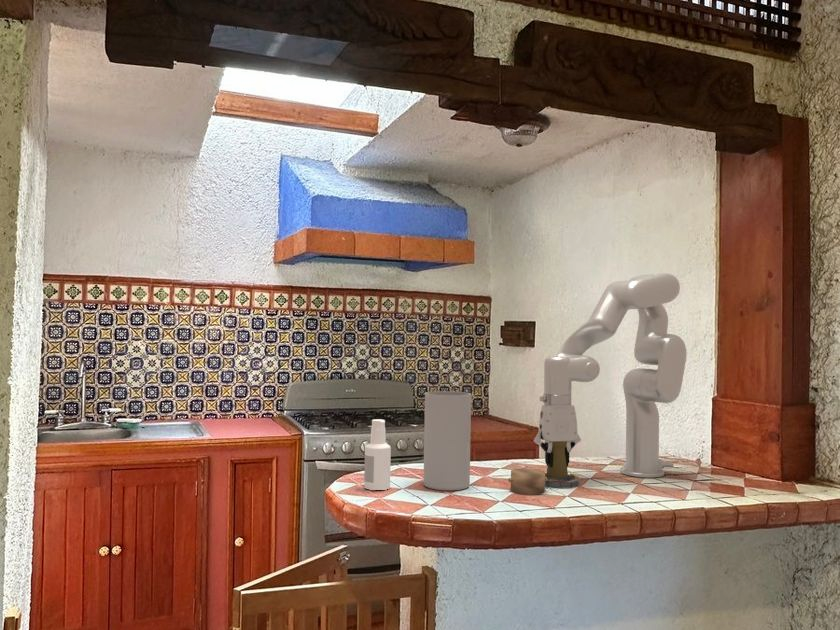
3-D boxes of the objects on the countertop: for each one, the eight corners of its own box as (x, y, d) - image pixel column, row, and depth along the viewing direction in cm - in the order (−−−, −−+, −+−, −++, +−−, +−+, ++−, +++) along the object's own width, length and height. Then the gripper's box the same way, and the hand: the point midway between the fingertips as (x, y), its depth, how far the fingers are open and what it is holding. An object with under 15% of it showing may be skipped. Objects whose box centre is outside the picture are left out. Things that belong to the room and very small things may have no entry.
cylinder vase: (458, 479, 194) (460, 391, 195) (477, 489, 182) (478, 395, 183) (416, 482, 190) (418, 391, 190) (433, 492, 178) (434, 396, 178)
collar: (566, 477, 200) (567, 470, 200) (586, 487, 188) (586, 479, 188) (526, 479, 197) (526, 471, 197) (544, 488, 185) (544, 480, 185)
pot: (539, 486, 188) (539, 467, 188) (553, 494, 179) (553, 474, 179) (502, 487, 185) (503, 468, 186) (515, 495, 177) (515, 475, 177)
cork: (569, 478, 189) (569, 437, 189) (547, 477, 190) (547, 437, 190) (566, 473, 195) (567, 434, 195) (545, 472, 196) (545, 434, 196)
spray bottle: (373, 484, 186) (375, 417, 187) (394, 487, 183) (396, 419, 183) (358, 489, 180) (360, 420, 181) (380, 492, 177) (381, 422, 177)
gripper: (535, 402, 187) (534, 470, 187) (591, 401, 191) (590, 467, 191) (524, 399, 194) (524, 464, 194) (578, 398, 198) (578, 462, 198)
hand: (557, 465), depth 192 cm, fingers closed on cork, 3 cm apart
